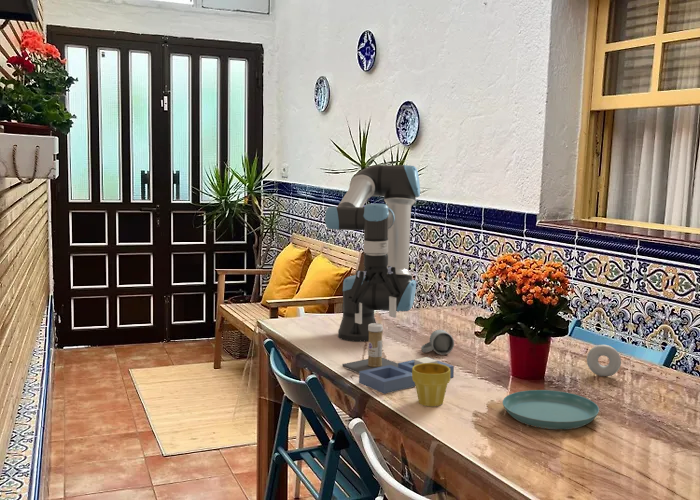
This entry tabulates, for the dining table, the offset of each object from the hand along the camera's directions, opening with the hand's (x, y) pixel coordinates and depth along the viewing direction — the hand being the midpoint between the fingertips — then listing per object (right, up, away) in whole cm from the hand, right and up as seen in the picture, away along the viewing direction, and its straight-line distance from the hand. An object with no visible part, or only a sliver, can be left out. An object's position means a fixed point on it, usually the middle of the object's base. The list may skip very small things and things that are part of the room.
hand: (375, 320), depth 224 cm
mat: (0, -15, +2) cm, 16 cm away
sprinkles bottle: (0, -15, +2) cm, 15 cm away
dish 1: (+3, -18, -15) cm, 23 cm away
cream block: (+15, -17, -6) cm, 23 cm away
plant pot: (+14, -20, -30) cm, 38 cm away
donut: (+69, -17, -6) cm, 72 cm away
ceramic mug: (+22, -13, +21) cm, 33 cm away
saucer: (+44, -22, -39) cm, 63 cm away
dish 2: (+15, -17, -6) cm, 23 cm away
